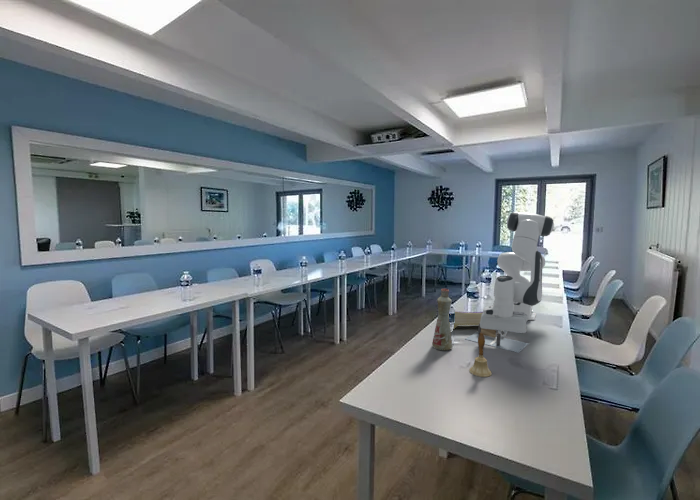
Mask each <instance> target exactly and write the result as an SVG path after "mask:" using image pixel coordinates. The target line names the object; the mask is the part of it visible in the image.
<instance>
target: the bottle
mask: <svg viewBox="0 0 700 500" xmlns="http://www.w3.org/2000/svg"><path fill="white" fill-rule="evenodd" d="M449 293H450V291H449V289H448V288H441V289H440V296H439V297H438V298H437V312H438V313H437V318H436V324H435V329H434V334H433V338H432V342H431V343H432V347H433V349H436V350H438V351H442V352H443V351H450V350H451V349H453V341H452V332H451V331H452V330H451V328H450V322H449V314H450V311H451V304H452V299H451V298H450V297H449Z"/></svg>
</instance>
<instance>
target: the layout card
mask: <svg viewBox="0 0 700 500" xmlns="http://www.w3.org/2000/svg"><path fill="white" fill-rule="evenodd" d="M478 337H479V334H478V331H475V332H474V333H472V334H471V335H469V336H467V337H466V338H465V340H467V341H471V342H474V343H478ZM484 338H485V345H486V346H491V347H494V348H498V349H500V350H501V349H502V350H506V351H510V352H515V353H517V354H519V353H520V352H522V350H524V349H525V348H526V347H527V346H528V345H529V344H530V343H528V342H524V341H519V340H514V339H512V338H508V337H507V338H506V337H504V340H501V339H500V345H499V346H498V345H496V341H497V335H496V337H491V336H487V335H484Z"/></svg>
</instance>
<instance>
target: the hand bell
mask: <svg viewBox="0 0 700 500" xmlns="http://www.w3.org/2000/svg"><path fill="white" fill-rule="evenodd" d="M485 345H486V344H485V338H484V334H483V333H482V332H480V334H479V337H478V342H477V346H478V356H477V357H474V361H473V364H472V366H471V367H470V368H469V370H468V371H469V373H470V374H471V375H473V376H476V377H478V378H479V377H480V378H488V377H491V376H492V371H491V370H490V369H489V366H488V359H487V358H485V356H484V348H485Z"/></svg>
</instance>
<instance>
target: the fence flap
mask: <svg viewBox="0 0 700 500" xmlns="http://www.w3.org/2000/svg"><path fill="white" fill-rule="evenodd" d="M501 334H502V333H501ZM501 334H499V333H498V334H497V333H496V336H497V341H496V345H498V346H499V345H500V336H501Z"/></svg>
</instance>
